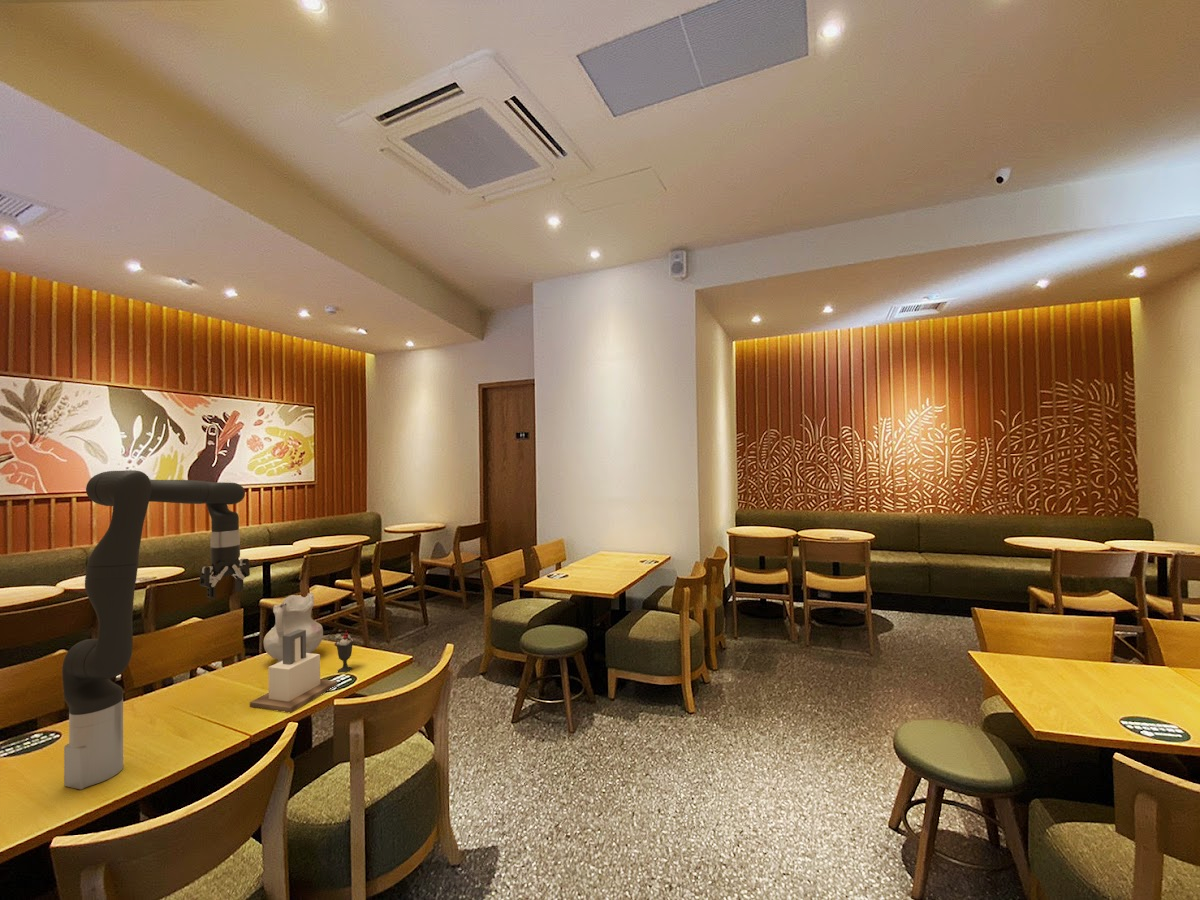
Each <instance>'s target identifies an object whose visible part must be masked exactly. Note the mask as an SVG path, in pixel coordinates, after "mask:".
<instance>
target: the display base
mask: <svg viewBox="0 0 1200 900" xmlns="http://www.w3.org/2000/svg"><path fill="white" fill-rule="evenodd" d="M335 685H337V686H338V681H336V680H330V679H329V680H328V679H321V678H320V685H318V686H316V687H314V688H312V689H311V690H309V691H307V692H305V693H303V694H302V695H300V696H298V697H296V698H294V699H293V700H291V701H289V702H288V701H281V700H274V699H269V692H267V693H265V694H263V695H261V696H259V697H257V698H255V699H253V700H251V701H249V708H254V709H261V708H262V710H268V711H274V710H278V711H277V712H281V711H285V712H284V713H288V712H290V713H289V714H291V713H293V712H295V711H297V710H298V709H300V708H302V707H303V706H305V705H307V704H308V703H311V702H312V701H313V699H314V700H315V699H317V698H318V696H319V697H321V696H322V695H324V694H325V693H324V692H326V691H327V690H329V689H330V688H332V687H334V686H335ZM334 688H335V687H334ZM332 689H333V688H332ZM329 691H330V690H329ZM327 692H328V691H327ZM327 692H326V693H327ZM323 693H324V694H323ZM321 694H322V695H321ZM316 697H317V698H316ZM294 710H295V711H294Z"/></svg>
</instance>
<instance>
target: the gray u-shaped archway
mask: <svg viewBox="0 0 1200 900" xmlns="http://www.w3.org/2000/svg"><path fill="white" fill-rule="evenodd" d="M299 637H300V646H301V659H304V658H306V630H300V629H298V630H296V631H293V632H291V633H288V634H286V635H283V664H288V665H291V664H293V640H294V639H297V638H299Z"/></svg>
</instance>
